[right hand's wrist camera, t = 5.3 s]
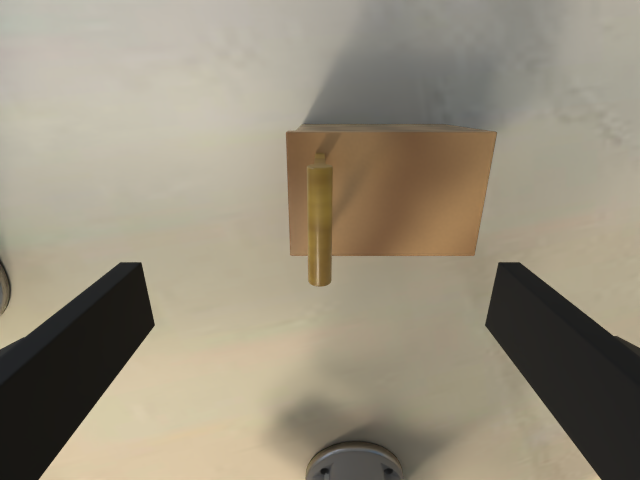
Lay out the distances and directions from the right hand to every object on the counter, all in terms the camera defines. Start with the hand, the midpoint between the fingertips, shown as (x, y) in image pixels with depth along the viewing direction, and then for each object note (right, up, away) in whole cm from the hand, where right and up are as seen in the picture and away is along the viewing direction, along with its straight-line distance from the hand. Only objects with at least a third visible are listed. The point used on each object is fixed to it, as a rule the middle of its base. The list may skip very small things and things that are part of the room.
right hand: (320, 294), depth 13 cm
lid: (+5, +6, +14) cm, 16 cm away
